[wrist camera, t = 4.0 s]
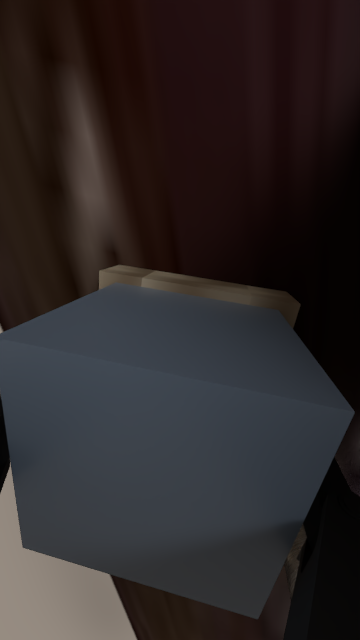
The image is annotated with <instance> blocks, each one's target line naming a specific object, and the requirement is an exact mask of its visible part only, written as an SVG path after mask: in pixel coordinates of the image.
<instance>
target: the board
mask: <svg viewBox="0 0 360 640" xmlns="http://www.w3.org/2000/svg"><path fill="white" fill-rule="evenodd" d="M116 282H117V283H122V284H128V285H134V286H140V287H146V288H152V289H158V290H164V291H169V292H175V293H181V294H187V295H193V296H199V297H205V298H211V299H217V300H222V301H228V302H234V303H240V304H246V305H252V306H258V307H264V308H269V309H275V310H279V311H280V313H281V314H282V315H283V317H284V318H285V319H286V321H287V322H288V323H289V325H290V326H291V327H292V329H293V327H294V324H295V321H296V318H297V314H298V311H299V308H300V305H301V304H300V303H299V302H298V301H297V300H295V299H294V298H293V297H292V296H291V295H290V294H289V293H287V292H285V291H279V290H273V289H267V288H260V287H254V286H248V285H242V284H236V283H229V282H223V281H217V280H211V279H205V278H198V277H192V276H186V275H180V274H174V273H167V272H161V271H155V270H149V269H143V268H137V267H130V266H124V265H118V266H114V267H111V268H107V269H104V270H100V271H99V290H100V289H102V288H105V287H107V286H109V285H111V284H114V283H116Z"/></svg>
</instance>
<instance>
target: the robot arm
mask: <svg viewBox="0 0 360 640" xmlns="http://www.w3.org/2000/svg"><path fill="white" fill-rule="evenodd" d="M9 467H10V455H9V448H8V441H7V434H6V427H5V420H4V413H3V406H2V399H1V395H0V492H1V490H2V487H3V484H4V481H5V478H6V476H7V473H8V470H9ZM303 525H304V529H305V532H306V536H307V538H306V540H305V542H304V544H303V546H302V548H301V550H300V552H299V554H298V556H297V558H296V559H297V560H298V561H300V562H299V567H298V572H297V577H296V581H295V586H294V591H293V596H292V601H291V605H290V610H289V615H288V620H287V625H286V629H285V634H284V639H283V640H360V497H359V496H358V495H356V494H355V493H354V492H352V491H351V490H350V488H349V486H348V484H347V482H346V480H345V478H344V476H343V474H342V472H341V470H340V468H339V466H338V464H337V462H336V460H335V458H333V460H332V462H331V464H330V467H329V469H328V471H327V473H326V475H325V477H324V479H323V482H322V484H321V486H320V488H319V490H318V492H317V494H316V496H315V499H314V501H313V503H312V505H311V507H310V509H309V511H308V514H307V516H306V518H305V520H304V522H303Z"/></svg>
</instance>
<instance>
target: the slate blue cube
mask: <svg viewBox="0 0 360 640" xmlns="http://www.w3.org/2000/svg"><path fill="white" fill-rule="evenodd" d="M0 392H1V399H2V406H3V413H4V420H5V427H6V434H7V441H8V448H9V455H10V462H11V468H12V476H13V483H14V490H15V497H16V504H17V511H18V517H19V525H20V531H21V538H22V545H23V548H26V549H29V550H33V551H36V552H39V553H43V554H46V555H49V556H52V557H56V558H59V559H62V560H65V561H69V562H72V563H75V564H78V565H82V566H85V567H88V568H91V569H95V570H98V571H102V572H105V573H108V574H111V575H114V576H118V577H121V578H124V579H127V580H131V581H134V582H137V583H141V584H144V585H147V586H150V587H154V588H157V589H160V590H163V591H167V592H170V593H173V594H177V595H180V596H183V597H186V598H190V599H193V600H196V601H199V602H203V603H206V604H209V605H212V606H216V607H219V608H222V609H226V610H229V611H232V612H235V613H239V614H242V615H245V616H248V617H252V618H255V619H258V618H259V616H260V614H261V612H262V610H263V607H264V605H265V603H266V601H267V599H268V597H269V595H270V592H271V590H272V588H273V586H274V584H275V582H276V580H277V578H278V575H279V573H280V571H281V569H282V567H283V565H284V563H285V560H286V558H287V556H288V554H289V552H290V550H291V548H292V546H293V543H294V541H295V539H296V537H297V535H298V533H299V531H300V528H301V526H302V524H303V522H304V520H305V518H306V516H307V514H308V511H309V509H310V507H311V505H312V503H313V501H314V499H315V496H316V494H317V492H318V490H319V488H320V486H321V484H322V482H323V479H324V477H325V475H326V473H327V471H328V469H329V467H330V464H331V462H332V460H333V458H334V456H335V454H336V452H337V449H338V447H339V445H340V443H341V441H342V439H343V437H344V435H345V432H346V430H347V428H348V426H349V424H350V422H351V420H352V417H353V415H354V413H355V411H354V410H353V409H352V407H351V406H350V405H349V403H348V402H347V401H346V399H345V398H344V397H343V395H342V394H341V393H340V391H339V390H338V389H337V387H336V386H335V385H334V383H333V382H332V381H331V379H330V378H329V377H328V375H327V374H326V373H325V371H324V370H323V369H322V367H321V366H320V365H319V363H318V362H317V361H316V359H315V358H314V357H313V355H312V354H311V353H310V351H309V350H308V349H307V347H306V346H305V345H304V343H303V342H302V341H301V339H300V338H299V337H298V335H297V334H296V333H295V331H294V330H293V329H292V327H291V326H290V325H289V323H288V322H287V321H286V319H285V318H284V317H283V315H282V314H281V313H280V311H279V310H275V309H269V308H264V307H258V306H252V305H246V304H240V303H234V302H228V301H222V300H217V299H211V298H205V297H199V296H193V295H187V294H181V293H175V292H169V291H164V290H158V289H152V288H146V287H140V286H134V285H128V284H122V283H117V282H116V283H114V284H111V285H109V286H107V287H105V288H102V289H100V290H98V291H95V292H93V293H91V294H89V295H86V296H84V297H82V298H80V299H77V300H75V301H73V302H71V303H68V304H66V305H64V306H62V307H59V308H57V309H55V310H53V311H50V312H48V313H46V314H43V315H41V316H39V317H37V318H34V319H32V320H30V321H28V322H25V323H23V324H21V325H19V326H16V327H14V328H12V329H10V330H7V331H5V332H3V333H1V334H0Z"/></svg>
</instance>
